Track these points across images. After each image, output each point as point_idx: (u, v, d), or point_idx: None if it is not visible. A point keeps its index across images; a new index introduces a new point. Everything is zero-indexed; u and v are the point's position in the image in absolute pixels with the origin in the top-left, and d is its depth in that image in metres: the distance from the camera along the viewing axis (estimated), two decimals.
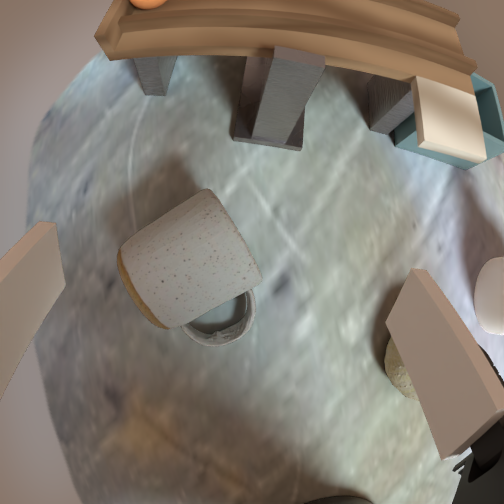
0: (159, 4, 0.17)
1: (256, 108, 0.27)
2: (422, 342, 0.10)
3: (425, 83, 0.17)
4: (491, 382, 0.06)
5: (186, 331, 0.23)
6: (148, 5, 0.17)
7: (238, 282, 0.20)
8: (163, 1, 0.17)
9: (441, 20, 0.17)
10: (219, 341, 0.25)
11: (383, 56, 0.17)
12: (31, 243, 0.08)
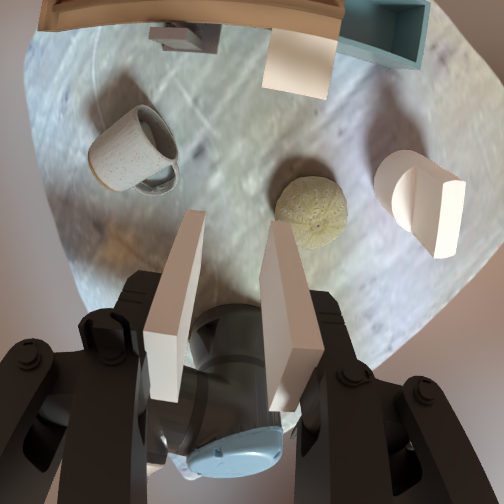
0: None
1: None
2: (268, 288, 0.11)
3: (279, 34, 0.20)
4: (301, 320, 0.08)
5: (136, 188, 0.36)
6: None
7: (155, 167, 0.32)
8: None
9: None
10: (158, 192, 0.38)
11: (244, 12, 0.20)
12: (196, 228, 0.11)
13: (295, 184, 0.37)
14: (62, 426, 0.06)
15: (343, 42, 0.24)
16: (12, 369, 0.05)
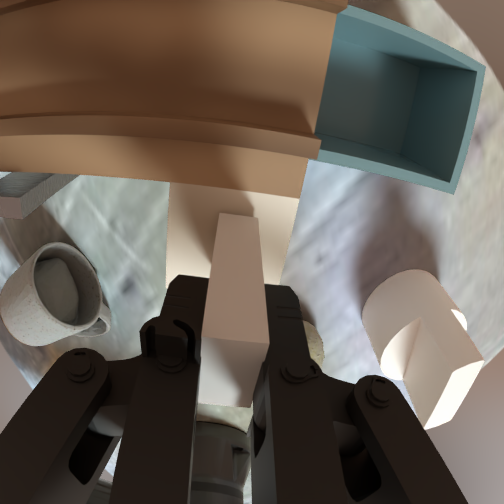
0: None
1: None
2: None
3: (184, 195, 0.12)
4: (249, 313, 0.08)
5: None
6: None
7: (71, 334, 0.22)
8: None
9: (299, 3, 0.09)
10: (91, 333, 0.29)
11: (115, 152, 0.11)
12: (233, 232, 0.11)
13: None
14: (107, 437, 0.06)
15: (325, 160, 0.15)
16: (62, 380, 0.05)
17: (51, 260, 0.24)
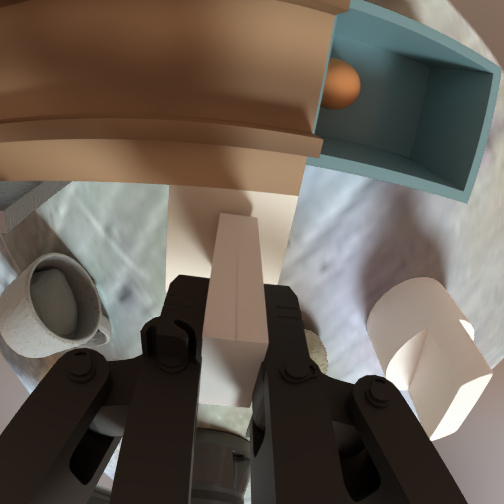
0: (323, 98, 0.16)
1: None
2: None
3: (185, 198, 0.12)
4: (249, 313, 0.08)
5: None
6: (328, 106, 0.17)
7: None
8: None
9: (300, 4, 0.09)
10: (91, 344, 0.28)
11: (111, 156, 0.11)
12: (234, 232, 0.11)
13: None
14: (108, 437, 0.06)
15: (333, 167, 0.14)
16: (62, 379, 0.05)
17: (48, 271, 0.23)
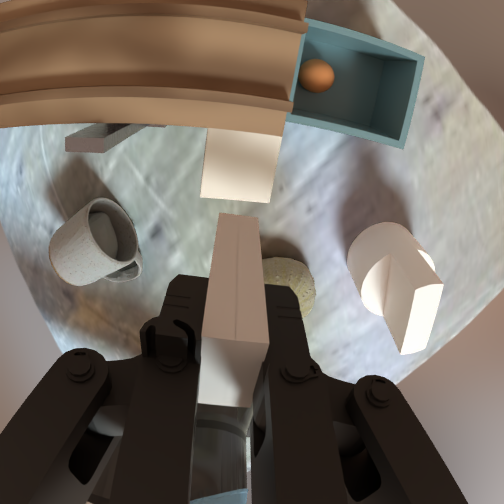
0: (313, 86, 0.24)
1: None
2: None
3: (216, 135, 0.20)
4: (249, 313, 0.08)
5: (101, 277, 0.35)
6: (314, 91, 0.25)
7: (113, 270, 0.30)
8: (311, 83, 0.24)
9: (281, 29, 0.17)
10: (124, 279, 0.37)
11: (175, 110, 0.19)
12: (234, 232, 0.11)
13: None
14: (107, 437, 0.06)
15: (305, 123, 0.22)
16: (61, 380, 0.05)
17: (97, 213, 0.32)
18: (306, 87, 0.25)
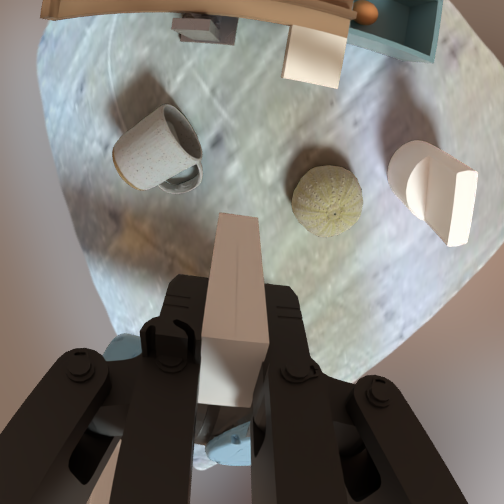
0: (366, 19, 0.26)
1: None
2: None
3: (298, 31, 0.22)
4: (249, 313, 0.08)
5: (159, 187, 0.38)
6: (365, 23, 0.27)
7: (181, 166, 0.33)
8: (365, 16, 0.26)
9: None
10: (181, 190, 0.39)
11: (267, 9, 0.21)
12: (233, 232, 0.11)
13: (312, 173, 0.37)
14: (107, 437, 0.06)
15: (360, 35, 0.24)
16: (62, 380, 0.05)
17: None
18: (359, 19, 0.26)
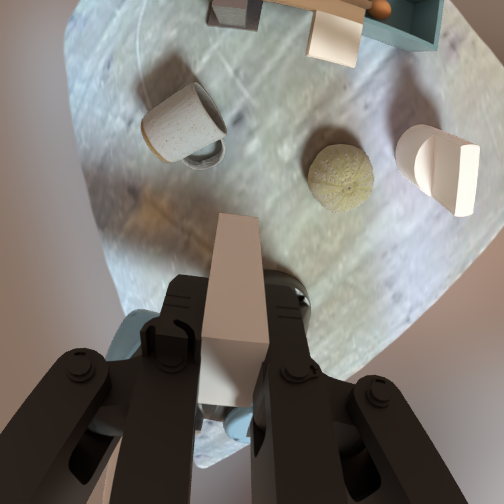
0: (384, 15, 0.28)
1: None
2: None
3: (322, 16, 0.24)
4: (249, 313, 0.08)
5: (183, 161, 0.39)
6: (380, 18, 0.29)
7: (209, 139, 0.34)
8: (384, 13, 0.28)
9: None
10: (204, 166, 0.41)
11: None
12: (233, 232, 0.11)
13: (328, 150, 0.38)
14: (107, 437, 0.06)
15: (373, 24, 0.26)
16: (62, 380, 0.05)
17: None
18: (378, 15, 0.29)
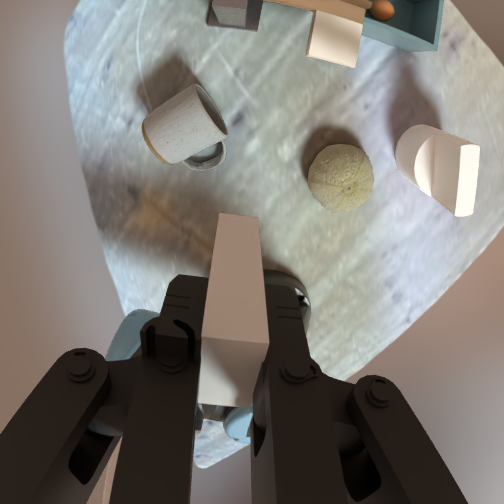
0: (389, 17, 0.29)
1: None
2: None
3: (322, 16, 0.24)
4: (249, 313, 0.08)
5: (184, 163, 0.39)
6: (384, 19, 0.29)
7: (210, 140, 0.34)
8: (389, 15, 0.28)
9: None
10: (204, 168, 0.41)
11: None
12: (233, 232, 0.11)
13: (328, 150, 0.38)
14: (107, 437, 0.06)
15: (373, 24, 0.26)
16: (62, 380, 0.05)
17: None
18: (383, 16, 0.29)
